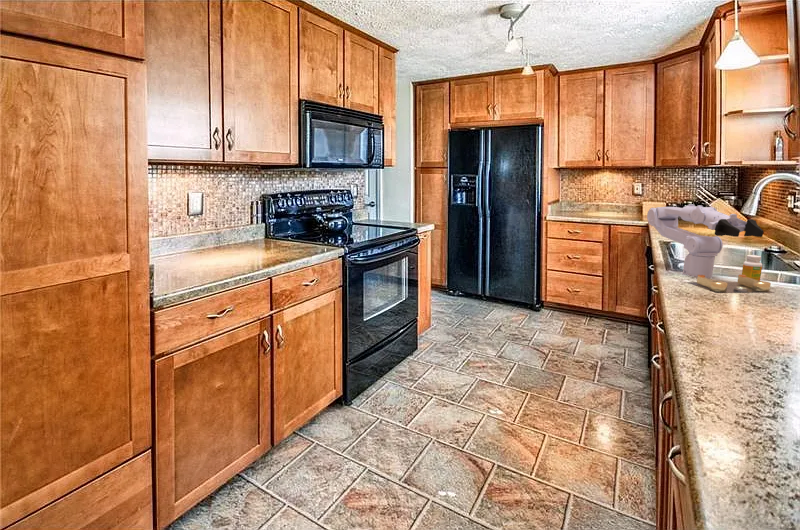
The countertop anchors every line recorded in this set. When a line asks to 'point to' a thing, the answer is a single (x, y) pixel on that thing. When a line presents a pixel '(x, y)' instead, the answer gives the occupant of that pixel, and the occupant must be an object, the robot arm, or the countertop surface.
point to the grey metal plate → (732, 288)
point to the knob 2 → (754, 283)
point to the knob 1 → (712, 284)
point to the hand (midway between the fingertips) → (750, 233)
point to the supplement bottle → (752, 267)
